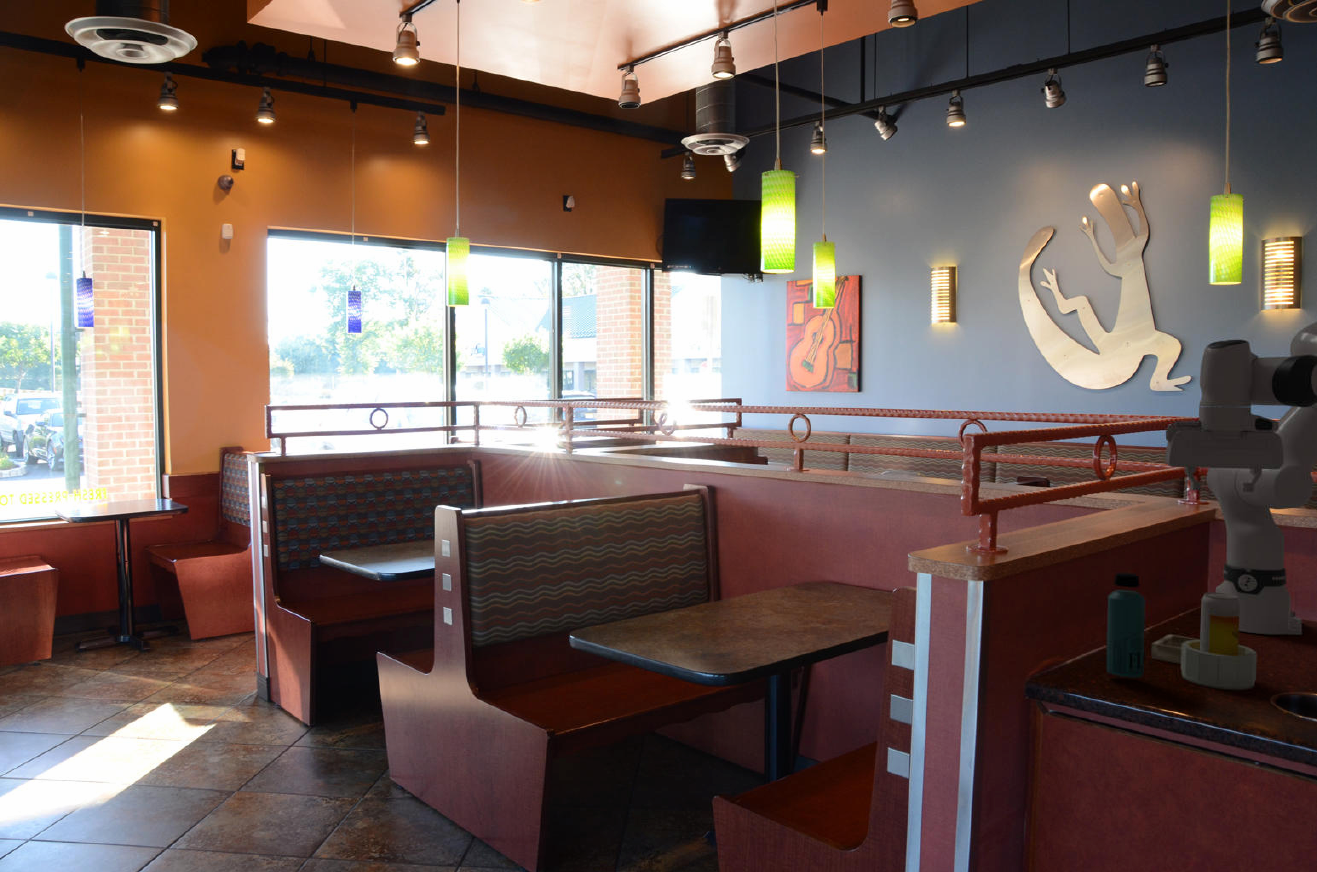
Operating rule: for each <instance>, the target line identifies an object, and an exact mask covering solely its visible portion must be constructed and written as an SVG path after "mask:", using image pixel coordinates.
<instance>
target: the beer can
mask: <svg viewBox="0 0 1317 872" xmlns="http://www.w3.org/2000/svg"><path fill="white" fill-rule="evenodd" d="M1200 610H1201V611H1200V613H1201V614H1200V636H1199V639H1200V651H1202V652H1207V653H1213V654H1218V655H1232V656H1238V645H1239V644H1240V643H1239V641H1240V640H1239V639H1240V631H1239V613H1240V603H1239V601H1238V599H1237V596H1235V595H1231V594H1226V593H1217V592H1216V591H1215V592H1211V591H1210V592H1205V593H1204V594H1203V596H1202V598H1201V607H1200Z"/></svg>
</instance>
